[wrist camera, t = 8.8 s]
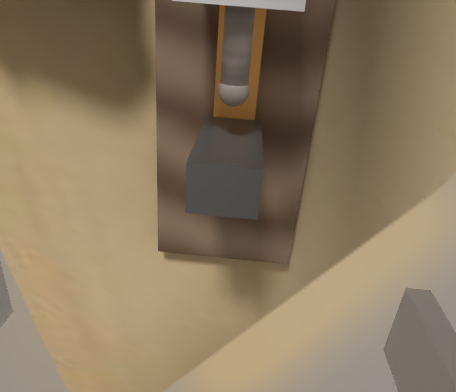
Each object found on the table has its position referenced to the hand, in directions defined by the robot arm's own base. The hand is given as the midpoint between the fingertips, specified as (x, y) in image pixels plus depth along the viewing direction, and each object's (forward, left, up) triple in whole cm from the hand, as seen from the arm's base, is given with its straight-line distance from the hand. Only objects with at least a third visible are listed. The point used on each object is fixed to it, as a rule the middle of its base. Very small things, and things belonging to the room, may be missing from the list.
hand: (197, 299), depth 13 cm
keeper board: (-1, 0, -21) cm, 21 cm away
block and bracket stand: (-3, 0, -19) cm, 19 cm away
